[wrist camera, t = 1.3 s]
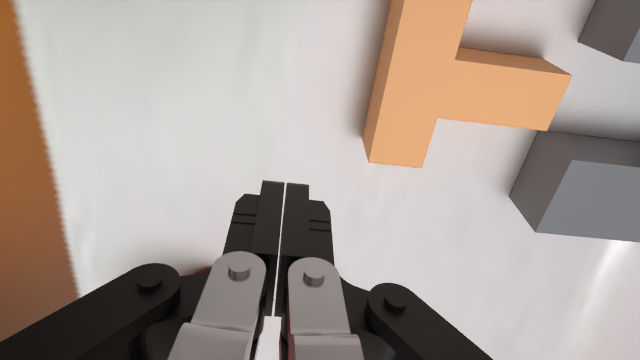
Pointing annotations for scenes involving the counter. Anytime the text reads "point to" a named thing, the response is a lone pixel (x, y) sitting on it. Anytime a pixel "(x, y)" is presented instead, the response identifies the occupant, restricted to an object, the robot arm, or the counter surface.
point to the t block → (448, 83)
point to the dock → (587, 155)
